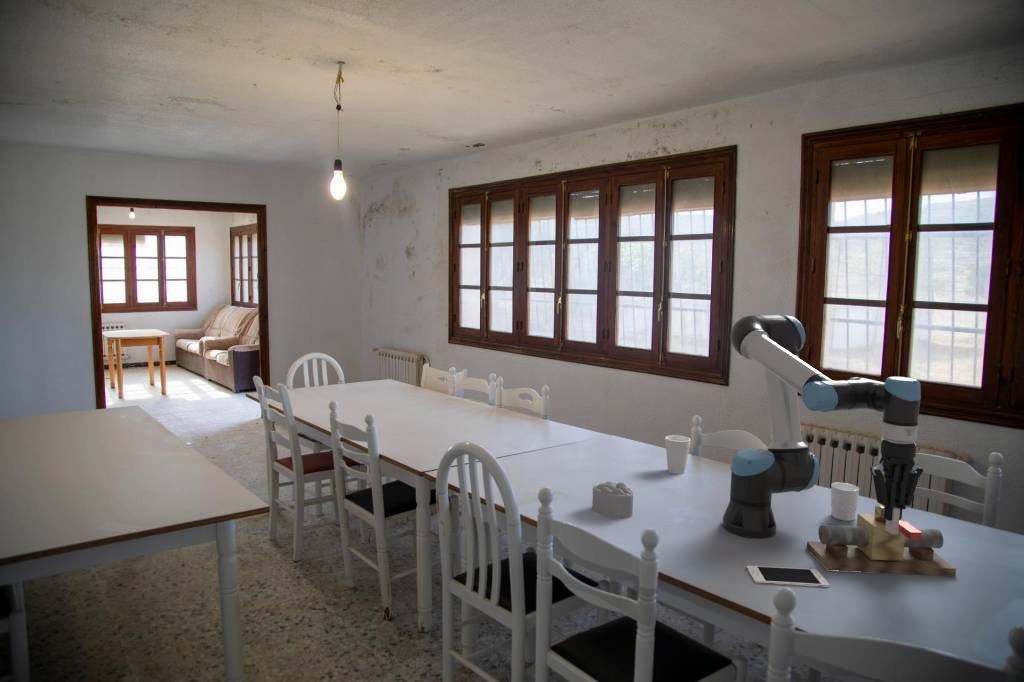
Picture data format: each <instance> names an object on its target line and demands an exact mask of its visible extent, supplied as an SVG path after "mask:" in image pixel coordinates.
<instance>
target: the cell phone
mask: <svg viewBox="0 0 1024 682" xmlns="http://www.w3.org/2000/svg"><path fill="white" fill-rule="evenodd" d="M746 567H747V568H748V570H749V572H750V574H751V575H752V577H753V579H754V580H755V581H757V582H758V581H759V582H773V583H774V582H779V581H780V582H779V583H782V582H783V583H789V584H805V585H818V586H829V587H830V583H829V582H828V581H827V580H826V578H825V577H824V576H823V575H822V574H821V572H820V571H819V570H818V569H815V568H799V567H798V568H797V567H781V566H765V565H746V566H745V568H746ZM748 570H747V571H748ZM749 572H748V573H749ZM750 574H749V575H750ZM753 579H752V580H753Z"/></svg>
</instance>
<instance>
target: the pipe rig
mask: <svg viewBox="0 0 1024 682" xmlns="http://www.w3.org/2000/svg"><path fill="white" fill-rule="evenodd" d="M874 517H875V513H857V518H856V525H840V524H839V525H837V524H836V525H833V524H832V525H831V524H830V525H829V524H821V525H819V527H818V538H819V541H806V549H807V550H808V551H809V553H810V554H811V553H812V554H813V555H814V556H815V557H816V558H817V559H818V560H819V561H820V562H821V563H822V564H823V565H824V566H825V567H826V568H827V569H828V570H839V571H861V572H874V573H873V574H885V573H888V575H890V574H891V575H918V576H944V577H956V576H957V575H956V574H957V568H956V567H955V566H953V565H952V564H950V563H949V562H947V561H946V559H944V558H942V557H941V556H940V555H938V554H937V553H935V549H941V548H942V547H943V546H944V536H943V534H942V532H941V530H940V529H938V528H924V527H923V528H920V527H915V528H916V529H917V530H919V531H920V532H922V534H921V540H915V539H909V538H907V537H906V536H905V535H903V534H902V533H901V532H899V531H898V534H891V533H889V532H887V531H886V530H885V526H886V522H883V521H878V520H876V519H874ZM812 554H811V555H812ZM813 555H812V556H813ZM814 556H813V557H814ZM815 557H814V558H815ZM816 558H815V559H816ZM817 559H816V560H817ZM818 560H817V561H818ZM819 561H818V562H819ZM820 562H819V563H820ZM821 563H820V564H821ZM822 564H821V565H822ZM823 565H822V566H823ZM824 566H823V567H824Z"/></svg>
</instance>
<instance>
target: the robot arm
mask: <svg viewBox="0 0 1024 682" xmlns="http://www.w3.org/2000/svg"><path fill="white" fill-rule="evenodd" d="M730 331H731V332H730V343H731V344H732V345H731V346H732V347H733V349H734V350H735V351H736V352H737V353H738V354H739V355H740V356H742V357H743V358H745V359H747V360H753V361H755V362H756V363H758V364H759V365H760V366H761V367H763V368H764V374H765V383H766V394H767V395H766V396H767V402H768V413H769V422H770V431H771V432H770V433H771V434H770V435H771V443H770V444H769V445H768V446H767V449H763V448H757V449H756V448H745V449H742V450H739V451H737V452H735V453H734V454H733V456H732V461H731V462H732V463H731V467H730V470H731V473H730V474H731V475H730V476H731V477H730V491H729V492H730V494H729V502H728V504H727V507H726V509H725V511H724V514H723V516H722V527H723V528H724V529H725V530H726V531H728V532H729V533H732V534H734V535H736V536H741V537H746V538H752V539H764V538H765V539H767V538H770V537H773V536H775V535H776V533H777V523H776V520H775V515H774V512H773V508H772V497H773V496H772V495H774V494H782V493H790V492H791V493H793V492H796V493H798V492H802V491H806V490H807V491H808V490H811V489H812V488H813V487H814V486H815V485H816V483H817V482H818V481H819V478H820V472H821V468H820V463H819V459H818V458H817V457H816V455H815V454H813V453H812V452H811V451H810V449H809V444H807V443H805V442H804V441H803V434H802V424H801V415H800V405H799V404H800V403H799V396H798V393H799V394H800V395H801V401H802V402H803V404H804V406H805V408H806V409H808V410H810V411H811V412H822V413H828V412H834V411H851V410H864V409H865V410H871V411H874V412H880V413H882V425H881V426H882V427H881V437H882V439H881V440H880V454H881V457H880V459H879V463H878V465H875V466H870V467H869V471H870V474H871V475H872V476H873V482H874V484H873V485H874V490H875V498H876V502H877V503H878V505H883V506H884V507H885V508H884V518H885V519H886V526H885V530H886V531H887V532H889V533H891V534H898V529H899V520H901V521H902V518H903V510H906V509H907V506H911V504H912V502H913V498H914V494H915V491H916V488H917V485H918V482H919V479H920V477H921V475H923V472H924V469H923V468H922V467H919V466H917V465H916V463H915V460H914V458H916V455H917V454H916V453H917V443H916V441H917V440H918V429H919V416H920V414H919V412H920V407H921V399H922V394H921V392H922V391H921V390H922V389H921V382H920V381H919V380H918V379H917V378H912V377H905V376H889V377H887V378H886V379H885V382H883V381H878V380H875V379H869V378H867V377H858V376H856V377H855V376H853V377H850V378H849V379H846V380H833V379H831V378H829V377H828V376H826V375H825V374H824V373H822V372H820V371H819V370H817V369H816V368H814V367H812V366H811V365H810V364H808V363H807V362H805V361H803V360H802V359H800V358H799V355H800V353H799V351H800V350H802V349H803V347H804V344H805V343H806V332H805V328H804V327H803V324H802V323H801V322H800V321H799V320H798V319H797V318H796V317H794V316H792V315H786V314H785V315H784V314H764V315H763V314H762V315H758V314H756V315H755V314H753V315H752V314H751V315H746V316H744V317H741V318H740V319H738V320H737V321H736V322H735V323H734V325H732V328H731V330H730Z"/></svg>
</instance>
